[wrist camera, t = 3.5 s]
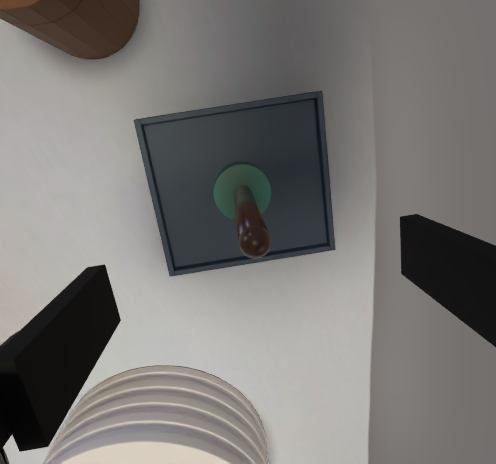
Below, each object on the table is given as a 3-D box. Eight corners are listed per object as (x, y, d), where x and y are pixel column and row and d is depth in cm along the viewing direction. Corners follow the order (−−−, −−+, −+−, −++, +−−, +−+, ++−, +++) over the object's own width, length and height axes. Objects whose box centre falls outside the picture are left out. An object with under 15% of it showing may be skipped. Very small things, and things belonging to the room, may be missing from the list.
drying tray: (317, 92, 36) (322, 90, 34) (330, 245, 41) (335, 250, 39) (138, 120, 36) (133, 119, 34) (172, 270, 41) (169, 276, 39)
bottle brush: (263, 157, 37) (305, 182, 17) (270, 208, 39) (316, 288, 19) (210, 165, 37) (189, 201, 17) (219, 216, 39) (210, 305, 18)
